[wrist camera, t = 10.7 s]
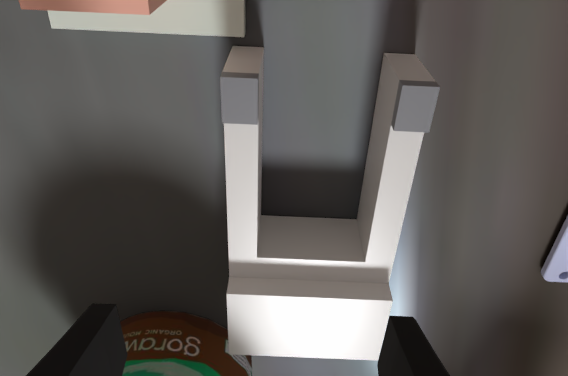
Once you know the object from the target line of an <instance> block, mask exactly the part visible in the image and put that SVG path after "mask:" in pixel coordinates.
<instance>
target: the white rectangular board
mask: <svg viewBox="0 0 568 376" xmlns="http://www.w3.org/2000/svg"><path fill="white" fill-rule="evenodd" d="M47 11H48V15H49V19H50V23H51V28H57V29H78V30H99V31H121V32H142V33H163V34H185V35H206V36H228V37H244V36H245V33H246V17H245V0H167V1H166V2H164V3H163V4H162V5H161V6H160V7H159V8H157V9H156V10H155V11H154V12H153V13H151V14H150V15H138V14H116V13H94V12H72V11H50V10H47Z"/></svg>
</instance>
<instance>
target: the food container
mask: <svg viewBox="0 0 568 376" xmlns="http://www.w3.org/2000/svg"><path fill="white" fill-rule="evenodd" d="M120 324H121V328H122V332H123V337H124V341H125V345H126V349H127V354H128V355H127V359H126V363H125V367H124V371H123V375H122V376H252V362H251V356H250V355H233V354H229V344H228V329H226V328H224V327H222V326H220V325H219V324H217V323H215V322H213V321H211V320H210V319H206V318H203V317H199V316H196V315H192V314H188V313H185V312H173V311H152V312H146V313H141V314H137V315H134V316H131V317H128V318H127V319H125V320H123V321H121V322H120Z"/></svg>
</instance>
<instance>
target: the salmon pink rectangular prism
mask: <svg viewBox="0 0 568 376" xmlns="http://www.w3.org/2000/svg"><path fill="white" fill-rule="evenodd" d="M166 1H167V0H19V3H20V7H21V9H28V10H50V11H72V12H94V13H116V14H138V15H150V14H151V13H153V12H154V11H155V10H156V9H157V8H159V7H160V6H161V5H162V4H163V3H164V2H166Z"/></svg>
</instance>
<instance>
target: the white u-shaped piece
mask: <svg viewBox="0 0 568 376" xmlns="http://www.w3.org/2000/svg"><path fill="white" fill-rule="evenodd" d="M263 74H264V47H247V46H232V49H231V51H230V54H229V56H228V59H227V61H226V64H225V66H224V69H223V71H222V74H221V76H220V86H221V113H222V123H224V137H225V166H226V195H227V224H228V253H229V282H228V288H227V319H228V344H229V354H233V355H258V356H283V357H307V358H332V359H357V360H378V358H379V354H380V350H381V346H382V342H383V338H384V334H385V330H386V326H387V322H388V318H389V314H390V310H391V306H392V302H393V300H392V296H391V292H390V288H389V280H390V275H391V271H392V267H393V263H394V258H395V254H396V250H397V246H398V241H399V237H400V233H401V228H402V224H403V220H404V216H405V211H406V207H407V203H408V199H409V194H410V190H411V186H412V182H413V177H414V173H415V169H416V164H417V160H418V156H419V152H420V147H421V143H422V139H423V135H424V132H429V131H430V127H431V123H432V119H433V115H434V110H435V106H436V102H437V98H438V94H439V90H440V86H439V85H438V84H437V82H436V81H435V80H434V78H433V77H432V76H431V75H430V73H429V72H428V71H427V69H426V68H425V67H424V65H423V64H422V63H421V61H420V60H419V59H418V57H417V56H416V55H415V54H398V53H384V55H383V62H382V68H381V74H380V80H379V86H378V92H377V98H376V104H375V111H374V117H373V123H372V129H371V135H370V141H369V147H368V154H367V160H366V166H365V172H364V178H363V184H362V190H361V196H360V203H359V209H358V215H357V219H336V218H313V217H290V216H267V215H261V192H262V133H263Z"/></svg>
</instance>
